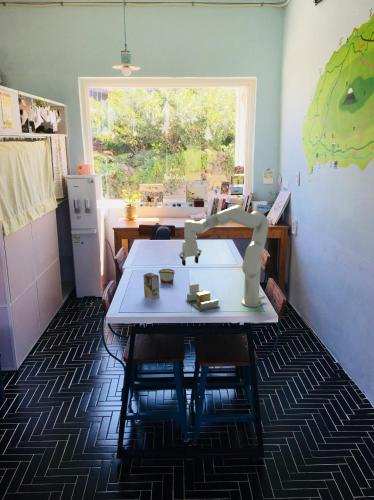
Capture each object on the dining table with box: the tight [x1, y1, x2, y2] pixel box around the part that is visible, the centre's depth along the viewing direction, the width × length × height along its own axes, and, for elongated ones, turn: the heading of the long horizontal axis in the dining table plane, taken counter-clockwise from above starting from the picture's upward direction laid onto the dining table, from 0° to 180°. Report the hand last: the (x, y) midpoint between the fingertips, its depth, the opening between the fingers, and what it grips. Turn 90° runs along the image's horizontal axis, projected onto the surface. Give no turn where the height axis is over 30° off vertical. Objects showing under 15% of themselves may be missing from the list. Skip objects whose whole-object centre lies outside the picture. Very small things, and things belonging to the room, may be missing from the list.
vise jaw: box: [186, 282, 205, 301], centre depth 274 cm, size 12×6×9 cm, turn 118°
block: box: [196, 290, 211, 305], centre depth 266 cm, size 8×4×7 cm, turn 118°
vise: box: [185, 298, 221, 313], centre depth 267 cm, size 14×20×5 cm
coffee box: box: [142, 272, 160, 301], centre depth 278 cm, size 9×6×16 cm
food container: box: [158, 268, 176, 285], centre depth 306 cm, size 12×6×10 cm, turn 74°
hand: (190, 264), depth 275 cm, fingers open, 9 cm apart
